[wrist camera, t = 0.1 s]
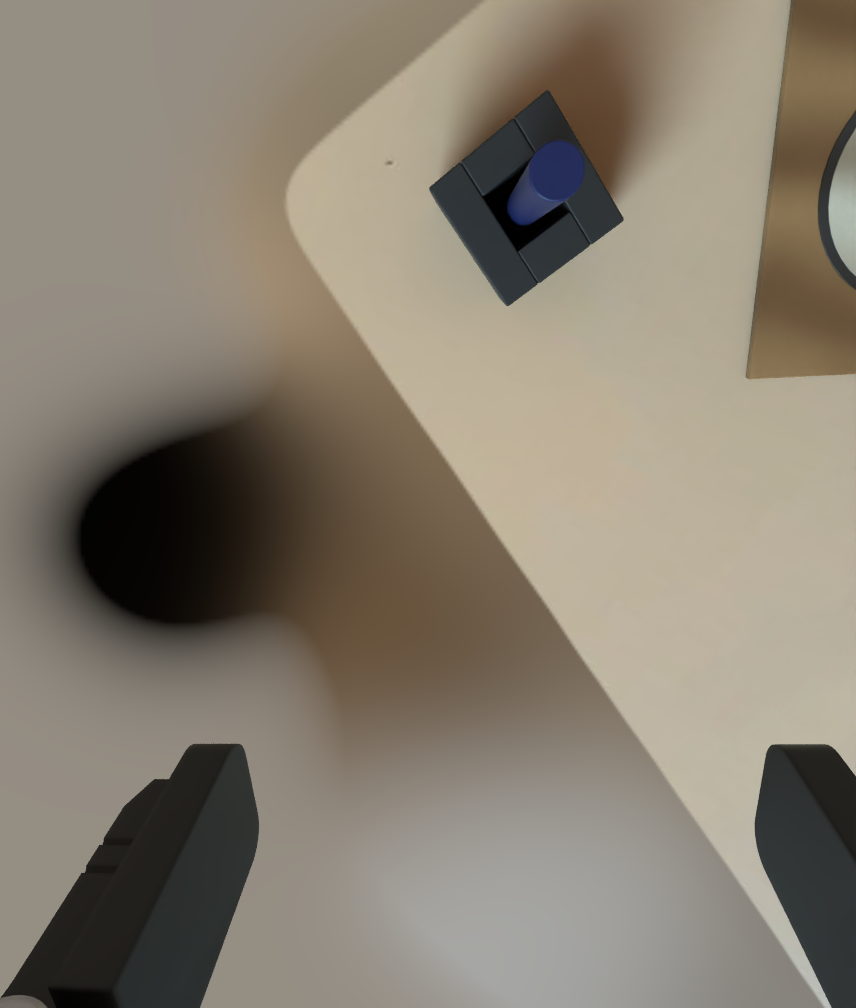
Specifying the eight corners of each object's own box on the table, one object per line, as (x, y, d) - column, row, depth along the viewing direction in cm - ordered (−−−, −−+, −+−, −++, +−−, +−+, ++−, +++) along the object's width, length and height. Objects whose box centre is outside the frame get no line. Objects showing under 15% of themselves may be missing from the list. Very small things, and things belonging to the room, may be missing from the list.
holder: (534, 118, 27) (548, 88, 22) (599, 227, 29) (625, 220, 24) (434, 200, 29) (428, 188, 24) (501, 300, 30) (507, 307, 25)
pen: (501, 198, 28) (528, 141, 15) (532, 195, 28) (586, 137, 15) (502, 231, 29) (528, 204, 16) (532, 229, 29) (585, 200, 16)
